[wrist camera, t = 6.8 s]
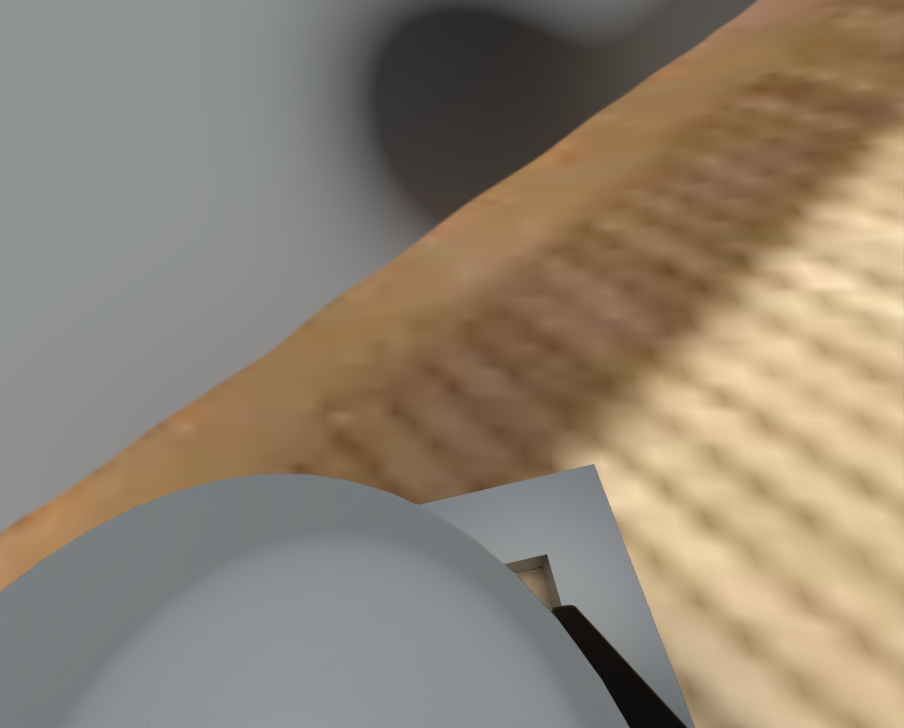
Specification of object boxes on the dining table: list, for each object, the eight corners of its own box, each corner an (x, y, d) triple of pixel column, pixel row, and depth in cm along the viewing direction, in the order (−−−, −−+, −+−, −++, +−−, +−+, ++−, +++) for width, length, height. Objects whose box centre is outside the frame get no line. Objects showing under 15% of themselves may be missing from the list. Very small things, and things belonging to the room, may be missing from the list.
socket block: (712, 856, 15) (769, 920, 12) (348, 938, 15) (300, 1026, 12) (582, 489, 22) (593, 464, 19) (332, 547, 22) (298, 532, 19)
